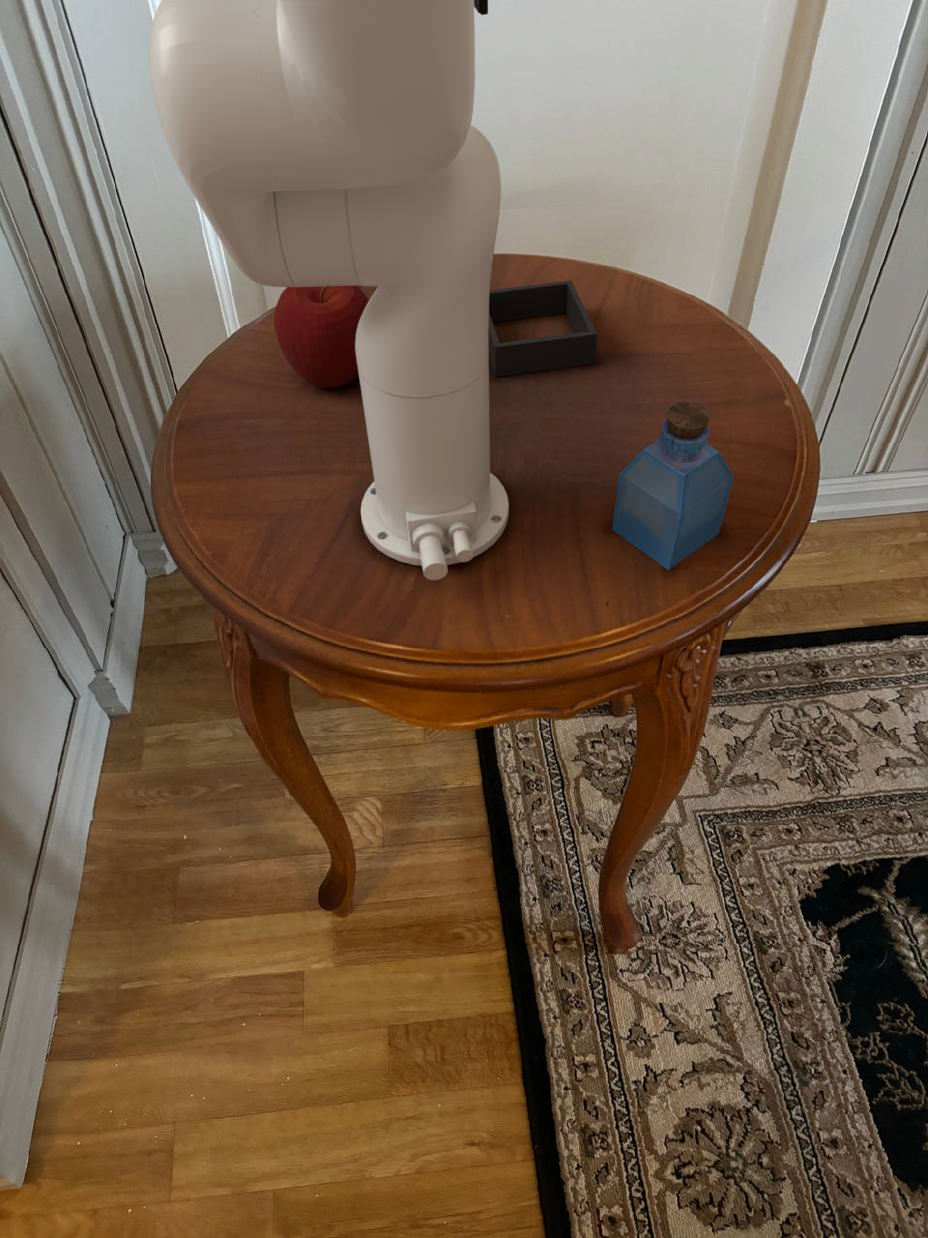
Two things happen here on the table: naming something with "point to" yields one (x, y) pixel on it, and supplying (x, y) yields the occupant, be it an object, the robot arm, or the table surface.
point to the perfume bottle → (674, 489)
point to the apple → (320, 332)
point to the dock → (547, 349)
